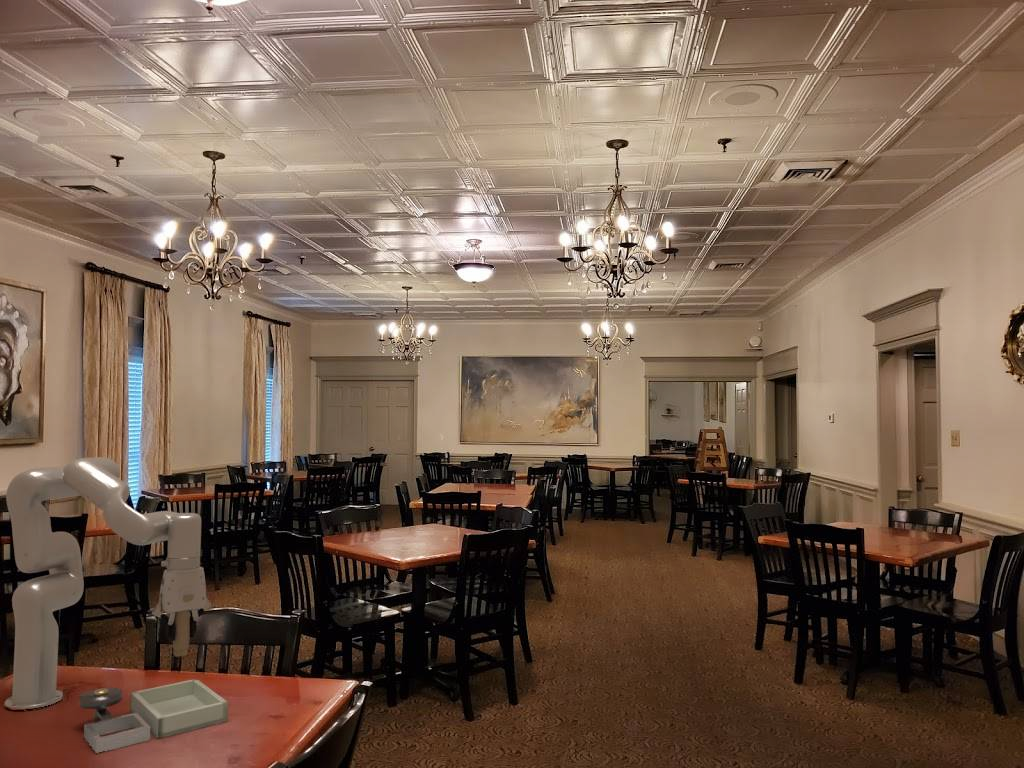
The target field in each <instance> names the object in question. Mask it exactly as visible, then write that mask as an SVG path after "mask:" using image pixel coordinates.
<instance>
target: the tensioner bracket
mask: <svg viewBox="0 0 1024 768" xmlns="http://www.w3.org/2000/svg"><path fill="white" fill-rule="evenodd" d="M78 699H79V700H78V707H80V708H82V709H86V710H93V709H94V713H93V715H94V716H93V722H89V723H84V726H83V730H84V731H83V732H84V733H83V739H84V738H85V739H84V741H85V742H86V743H87V742H88V743H89V744H88V743H87V744H88V745H89V747H90V746H91V747H92V748H91V747H90V748H91V749H92V751H93V750H94V751H95V752H96V753H98V754H100V753H99V752H102V753H104V752H103V751H105V752H109V751H112V750H113V751H114V750H116V749H121V748H125V747H128V746H133V745H136V744H140V743H144V742H148V741H151V732H150V726H149V725H148V724H147V723H146V722H145V721H144V720H143V719H142V718H141V717H140V716H139V715H138V714H137V713H132V712H131V713H129V714H128V713H127V714H124V715H119V716H115V717H112V713H111V712H110V711H109V710H108V709H107V708H108V707H113V706H114V705H117V704H119V703H120V702H121V701H122V700H123V690H122V689H121V688H119V687H110V686H109V687H100V688H95V689H91V690H87V691H85V692H83V693H81V694H80V695H79V697H78ZM116 732H117V733H116ZM112 733H113V734H112ZM103 735H105V736H103ZM108 750H109V751H108ZM94 751H93V752H94ZM95 752H94V753H95ZM96 753H95V754H96Z"/></svg>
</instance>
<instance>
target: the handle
mask: <svg viewBox="0 0 1024 768" xmlns="http://www.w3.org/2000/svg"><path fill="white" fill-rule="evenodd" d="M193 598H194V597H193V595H187V596H183V601H184V602H188V601H191V600H193ZM174 624H175V640H174V641H172V648H173V653H172V654H173V655H174V657H177V658H179V657H184V656H187V655H188V653H189V649H188V648H189V647H190V646H189V644H190V638H191V637H190V610H189V611H182V612H176V613H175V617H174Z"/></svg>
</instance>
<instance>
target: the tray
mask: <svg viewBox="0 0 1024 768" xmlns="http://www.w3.org/2000/svg"><path fill="white" fill-rule="evenodd" d="M129 711H130V712H131V714H132V713H137V714H138V715H139V716H140V717H141V718H142V719H143V720H144V721H145V722H146V723H147V724H148V725H149V726H150V734H152V735H153V736H154V737H155V738H156V739H157V740H159V739H163V738H167V737H170V736H176V735H178V734H182V733H187V732H190V731H194V730H198V729H202V728H206V727H210V726H213V725H218V724H223V723H225V722H228V720H229V719H228V716H229V702H228V701H227V700H226V699H224V697H222V696H221V695H219V694H217V693H216V692H215V691H213V690H212V689H211V688H210V687H208V686H207V685H206V684H204V683H203V682H201V681H200V680H199V679H197V678H193V679H188V680H184V681H179V682H174V683H170V684H165V685H160V686H157V687H151V688H146V689H141V690H137V691H132V692H130V709H129Z"/></svg>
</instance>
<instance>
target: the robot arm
mask: <svg viewBox="0 0 1024 768" xmlns="http://www.w3.org/2000/svg"><path fill="white" fill-rule="evenodd" d="M120 477H121V470H120V467H119V465H118V463H116V461H114V460H112V459H111V458H110V457H106V456H99V457H98V456H97V457H95V456H94V457H80V458H77V459H73V460H71V461H70V462H68V463H67V464H66V465H65V466H53V467H51V466H48V467H37V468H31V469H28V470H24V471H21V472H20V473H18V474H16V476H14V477H13V479H11V481H10V482H9V484H8V486H7V488H6V495H5V496H6V497H5V499H6V506H7V510H8V513H9V516H10V517H9V518H10V521H11V528H12V529H11V530H12V541H13V542H12V543H13V549H14V552H13V553H14V560H15V565H16V567H17V569H18V570H19V571H20V572H21V573H25V574H34V573H35V574H36V573H40V572H44V571H48V572H49V574H48V575H47V574H46V575H43V576H38V577H35V578H32V579H31V578H30V579H28V580H26V581H24V582H22V583H21V584H20V585H18V586H17V588H16V589H15V590H14V591H13V595H12V599H11V602H12V603H11V604H12V610H13V615H14V625H15V626H14V629H15V631H14V653H13V675H12V676H13V677H12V694H11V695H12V696H10V697H8V698H6V700H5V701H4V706H5V705H6V706H7V707H11V708H18V709H19V708H20V709H26V708H38V707H43V708H45V707H44V706H47V707H49V706H48V705H50V706H52V705H55V704H56V702H57V703H59V702H60V701H61V700H63V696H64V695H63V694H64V693H63V691H61V690H59V689H57V675H58V660H59V659H58V658H59V655H58V653H59V635H60V634H59V631H60V630H59V625H58V623H57V621H56V619H55V617H54V614H53V612H56V611H58V610H62V609H66V608H68V607H71V606H73V605H75V604H77V603H78V602H79V601H80V600H81V598H82V596H83V593H84V586H85V584H84V582H85V581H84V573H83V565H82V554H81V549H80V545H79V542H78V540H77V538H76V537H75V536H74V535H72V534H71V533H69V532H66V531H55V532H53V531H52V526H51V523H52V522H51V518H50V514H49V512H48V510H47V508H46V507H44V505H43V504H42V502H43V501H49V500H60V499H67V498H73V497H78V496H80V497H82V498H84V499H85V500H87V501H88V502H90V503H91V504H92V505H93V506H95V507H96V508H98V509H100V510H101V511H102V515H103V519H104V521H105V523H106V525H107V527H108V528H109V529H110V530H111V531H112V532H113V533H114V534H116V535H117V536H119V537H120V538H122V539H123V540H125V541H126V542H128V543H130V544H132V545H135V546H146V545H151V544H155V543H161V542H165V541H167V557H166V559H165V560H161V563H160V566H161V567H163V568H164V567H165V568H166V569H165V570H163V574H162V579H161V584H160V589H159V590H160V591H159V600H158V602H157V604H156V605H155V607H154V608H153V609H152V610H151V614H152V615H153V616H155V617H157V618H159V619H161V620H162V621H163V622H164V623H166V626H165V627H166V628H165V630H166V631H165V636H166V638H167V640H169V641H171V642H173V641H174V640H175V624H174V617H175V613H176V612H182V611H189V610H190V638H195V634H197V623H198V622H197V621H199V618H200V617H201V616H202V615H203V614H204V612H205V611H207V610H208V609H209V608H211V606H212V603H211V602H210V600H209V599H208V597H207V587H206V586H207V585H206V577H205V571H204V566H203V567H202V566H201V545H202V542H201V541H202V539H201V538H202V516H201V515H199V513H196V512H182V513H181V512H175V511H170V510H163V511H162V510H161V511H154V512H149V513H141V512H138V511H137V510H136V509H134V508H132V507H131V506H130V505H128V504H127V500H128V498H129V496H130V492H131V489H130V486H129V484H128V483H127V482H125V481H124V480H122V479H121V478H120ZM187 595H193V597H194V598H193V600H191V601H188V602H184V601H183V596H187ZM161 610H162V611H163V612H165V613H166V614H165V613H163V612H162V611H161ZM58 701H59V702H58ZM54 703H55V704H54ZM51 704H52V705H51Z"/></svg>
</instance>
